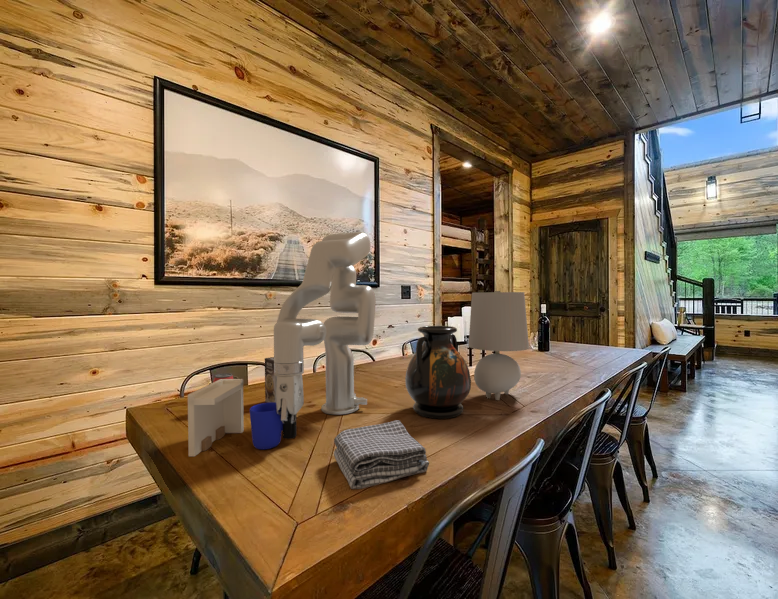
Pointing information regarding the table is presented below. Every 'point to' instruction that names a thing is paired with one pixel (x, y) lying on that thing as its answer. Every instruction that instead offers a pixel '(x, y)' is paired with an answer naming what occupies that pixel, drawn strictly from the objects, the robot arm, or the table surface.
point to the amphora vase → (438, 374)
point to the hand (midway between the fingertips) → (289, 437)
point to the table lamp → (498, 338)
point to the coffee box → (270, 380)
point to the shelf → (214, 413)
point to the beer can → (223, 376)
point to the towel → (378, 454)
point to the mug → (265, 425)
